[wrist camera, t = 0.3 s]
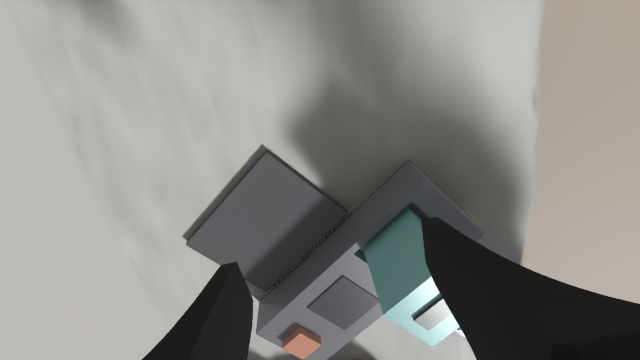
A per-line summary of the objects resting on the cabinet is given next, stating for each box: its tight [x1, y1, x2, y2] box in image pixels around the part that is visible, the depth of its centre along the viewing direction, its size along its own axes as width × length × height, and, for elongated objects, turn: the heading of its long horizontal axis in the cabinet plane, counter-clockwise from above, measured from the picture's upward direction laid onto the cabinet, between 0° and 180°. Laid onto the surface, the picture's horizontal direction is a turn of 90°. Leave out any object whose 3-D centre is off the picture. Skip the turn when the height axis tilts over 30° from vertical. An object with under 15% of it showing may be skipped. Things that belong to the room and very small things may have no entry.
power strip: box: [256, 160, 484, 360], centre depth 24 cm, size 16×6×4 cm, turn 138°
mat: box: [186, 151, 347, 291], centre depth 24 cm, size 7×9×1 cm
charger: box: [362, 205, 459, 347], centre depth 20 cm, size 4×4×6 cm
